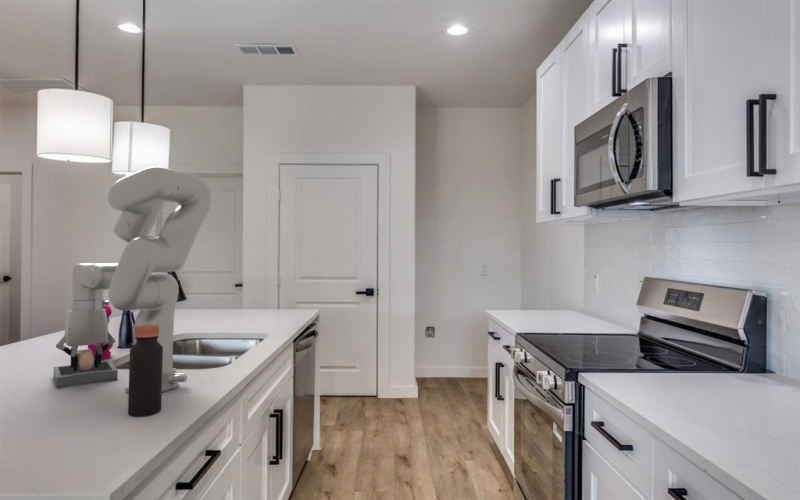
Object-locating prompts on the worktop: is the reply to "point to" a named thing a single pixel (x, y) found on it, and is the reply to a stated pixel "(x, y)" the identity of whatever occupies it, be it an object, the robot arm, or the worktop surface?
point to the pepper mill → (107, 353)
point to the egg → (86, 360)
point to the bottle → (145, 372)
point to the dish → (84, 375)
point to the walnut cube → (81, 351)
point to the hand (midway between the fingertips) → (85, 367)
